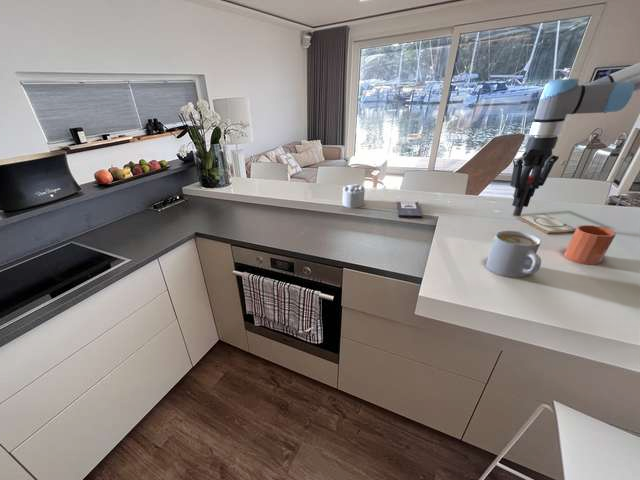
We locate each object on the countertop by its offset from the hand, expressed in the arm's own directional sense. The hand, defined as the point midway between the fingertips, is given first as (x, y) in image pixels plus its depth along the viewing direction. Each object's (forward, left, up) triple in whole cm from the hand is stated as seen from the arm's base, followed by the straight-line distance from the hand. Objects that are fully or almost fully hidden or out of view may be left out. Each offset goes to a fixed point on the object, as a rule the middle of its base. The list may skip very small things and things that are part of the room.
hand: (519, 205), depth 104 cm
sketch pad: (-16, +1, -8) cm, 18 cm away
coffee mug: (+21, +31, -8) cm, 38 cm away
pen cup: (-3, +26, -8) cm, 27 cm away
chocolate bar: (+30, -23, -8) cm, 39 cm away
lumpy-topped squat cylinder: (+52, -38, -8) cm, 65 cm away
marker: (0, 0, -3) cm, 3 cm away
